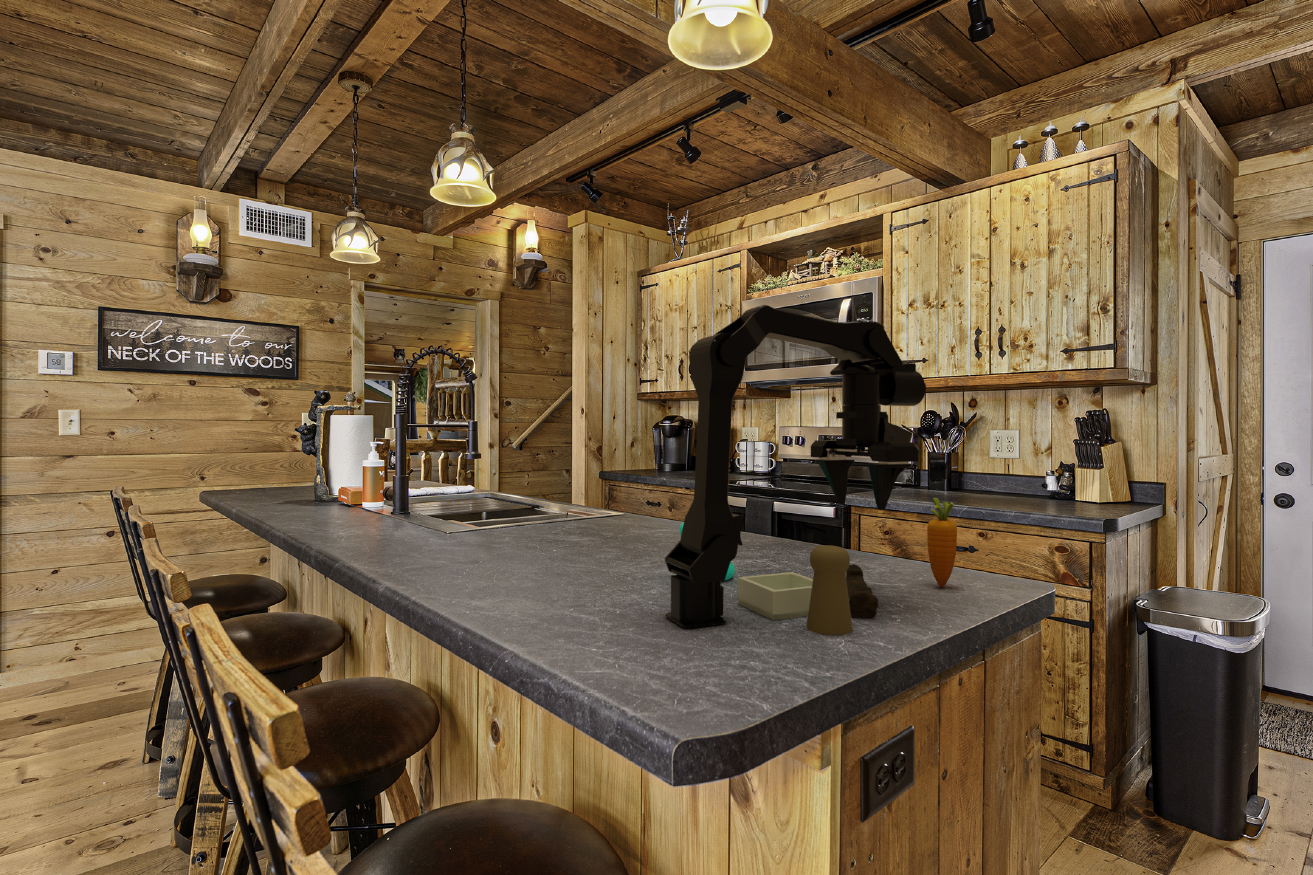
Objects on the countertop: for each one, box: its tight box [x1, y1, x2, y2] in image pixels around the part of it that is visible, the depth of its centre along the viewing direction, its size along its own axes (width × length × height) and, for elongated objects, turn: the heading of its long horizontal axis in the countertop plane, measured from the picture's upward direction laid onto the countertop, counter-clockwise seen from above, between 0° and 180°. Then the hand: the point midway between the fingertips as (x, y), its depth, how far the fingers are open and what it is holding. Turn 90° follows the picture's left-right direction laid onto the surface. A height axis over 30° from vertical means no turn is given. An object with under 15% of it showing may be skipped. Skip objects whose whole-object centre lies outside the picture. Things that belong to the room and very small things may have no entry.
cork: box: [806, 544, 854, 636], centre depth 91 cm, size 6×6×11 cm
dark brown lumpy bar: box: [845, 563, 879, 620], centre depth 105 cm, size 19×4×5 cm, turn 166°
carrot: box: [926, 497, 958, 589], centre depth 114 cm, size 5×5×15 cm
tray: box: [737, 571, 813, 621], centre depth 101 cm, size 10×10×4 cm
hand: (860, 506), depth 105 cm, fingers open, 9 cm apart
